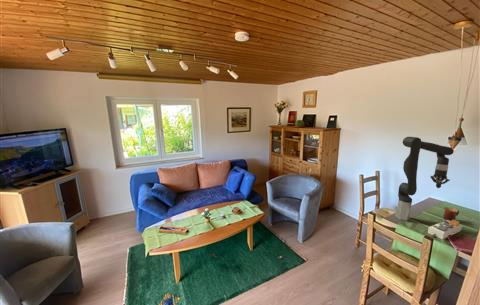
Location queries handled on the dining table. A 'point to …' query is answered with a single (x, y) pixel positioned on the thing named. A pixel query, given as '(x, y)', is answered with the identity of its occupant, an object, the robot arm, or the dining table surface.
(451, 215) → the mug
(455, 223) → the rocker
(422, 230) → the dining table surface
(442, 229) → the rocker
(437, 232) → the power strip
